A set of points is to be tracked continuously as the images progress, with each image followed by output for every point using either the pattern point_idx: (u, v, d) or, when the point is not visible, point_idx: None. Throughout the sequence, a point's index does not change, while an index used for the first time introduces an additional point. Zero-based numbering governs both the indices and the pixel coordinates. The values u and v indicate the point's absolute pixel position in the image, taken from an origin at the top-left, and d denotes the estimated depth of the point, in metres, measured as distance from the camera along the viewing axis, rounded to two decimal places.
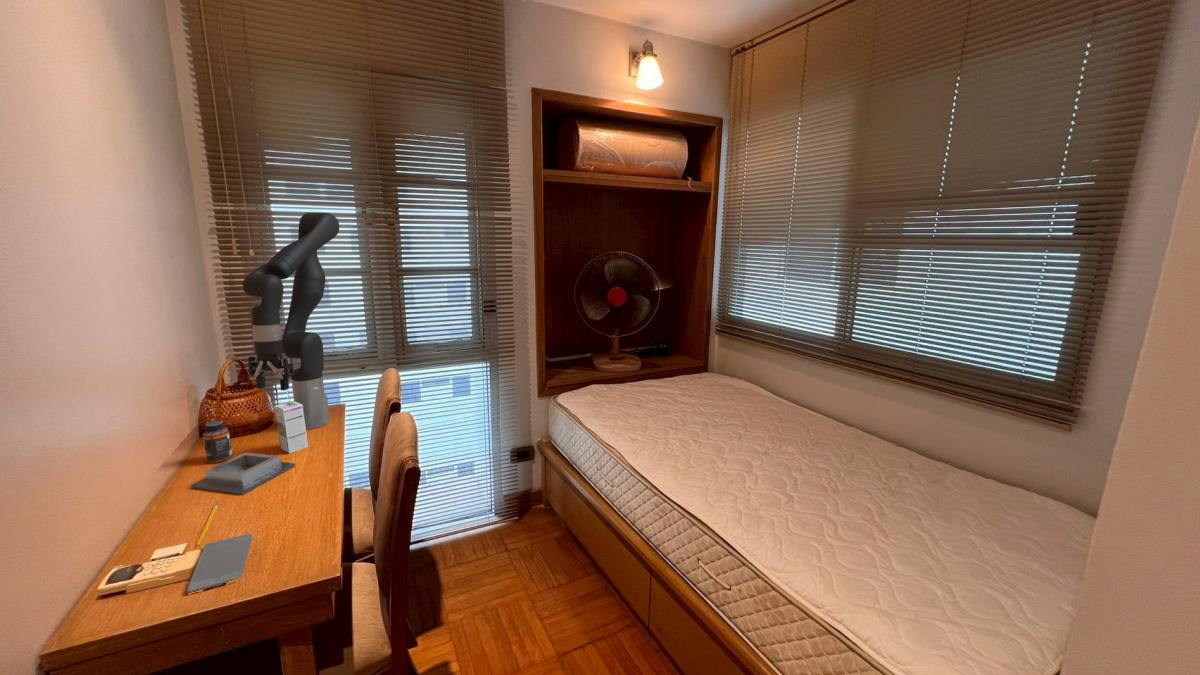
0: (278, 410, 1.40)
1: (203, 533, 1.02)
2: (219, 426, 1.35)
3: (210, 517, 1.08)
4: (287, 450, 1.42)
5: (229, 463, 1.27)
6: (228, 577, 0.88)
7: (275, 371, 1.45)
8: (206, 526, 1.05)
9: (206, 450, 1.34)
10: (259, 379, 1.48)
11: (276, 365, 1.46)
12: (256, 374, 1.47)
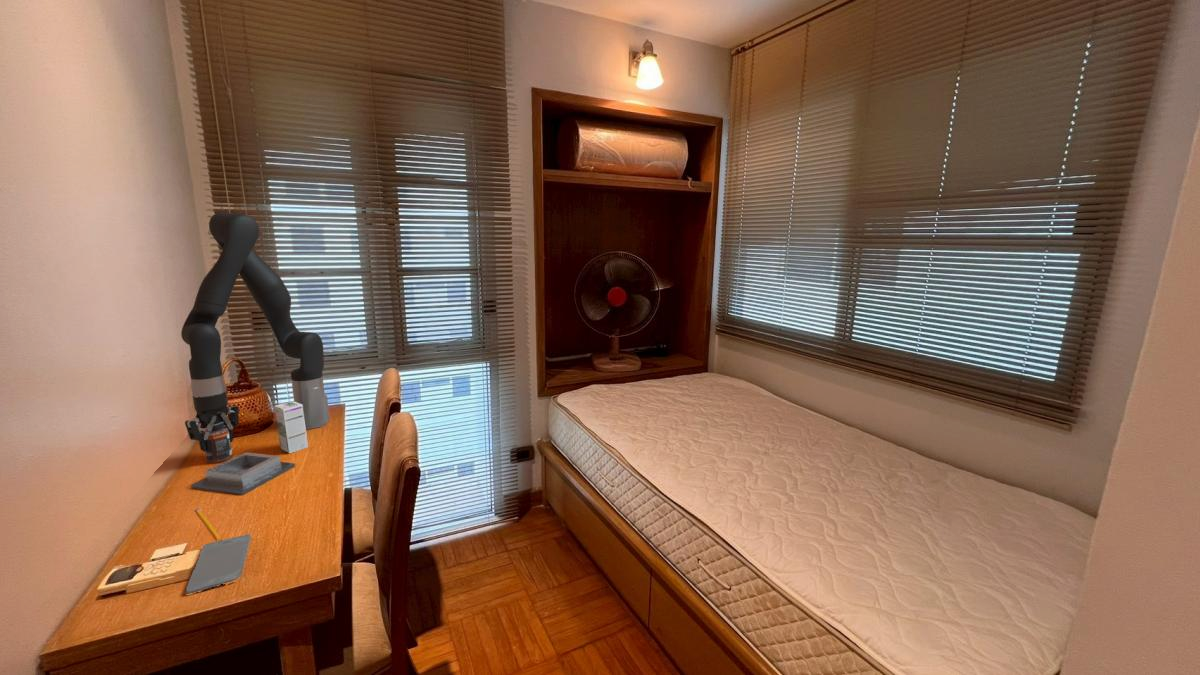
0: (278, 410, 1.40)
1: (213, 530, 1.03)
2: (218, 426, 1.35)
3: (205, 518, 1.08)
4: (287, 450, 1.42)
5: (229, 463, 1.27)
6: (226, 577, 0.88)
7: (228, 422, 1.38)
8: (209, 525, 1.05)
9: None
10: None
11: None
12: (207, 436, 1.33)
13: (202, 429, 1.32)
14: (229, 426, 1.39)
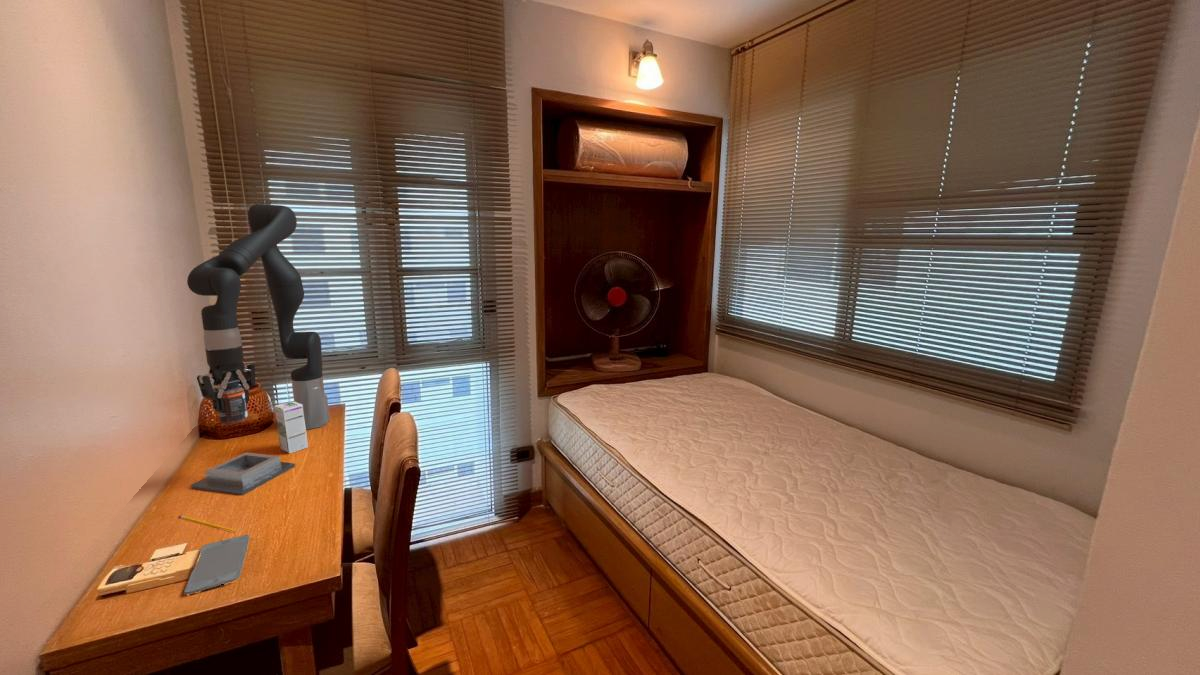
0: (278, 410, 1.40)
1: (221, 526, 1.05)
2: (233, 384, 1.22)
3: (200, 520, 1.07)
4: (287, 450, 1.42)
5: (229, 463, 1.27)
6: (225, 578, 0.88)
7: (244, 381, 1.25)
8: (212, 524, 1.06)
9: None
10: None
11: None
12: (221, 394, 1.20)
13: (215, 386, 1.20)
14: (245, 385, 1.26)
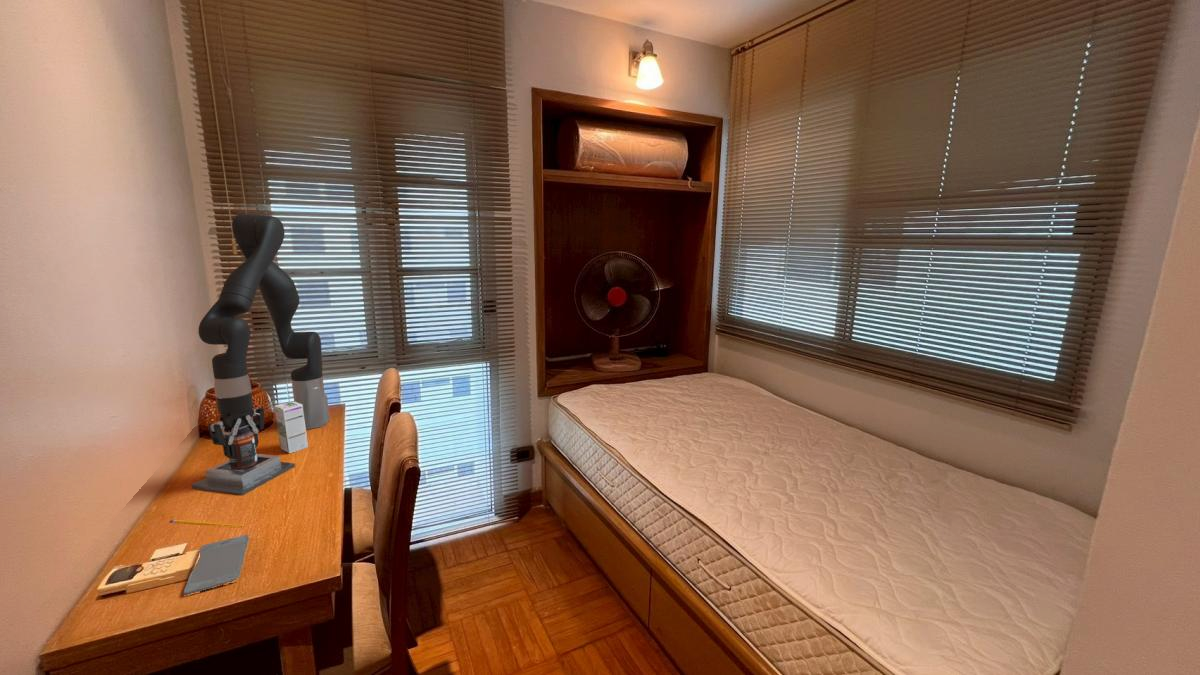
0: (278, 410, 1.40)
1: (226, 524, 1.06)
2: (243, 429, 1.24)
3: (197, 522, 1.06)
4: (287, 450, 1.42)
5: (229, 463, 1.27)
6: (225, 578, 0.88)
7: (253, 425, 1.27)
8: (214, 523, 1.06)
9: None
10: None
11: None
12: (231, 440, 1.22)
13: (226, 433, 1.22)
14: (254, 430, 1.28)
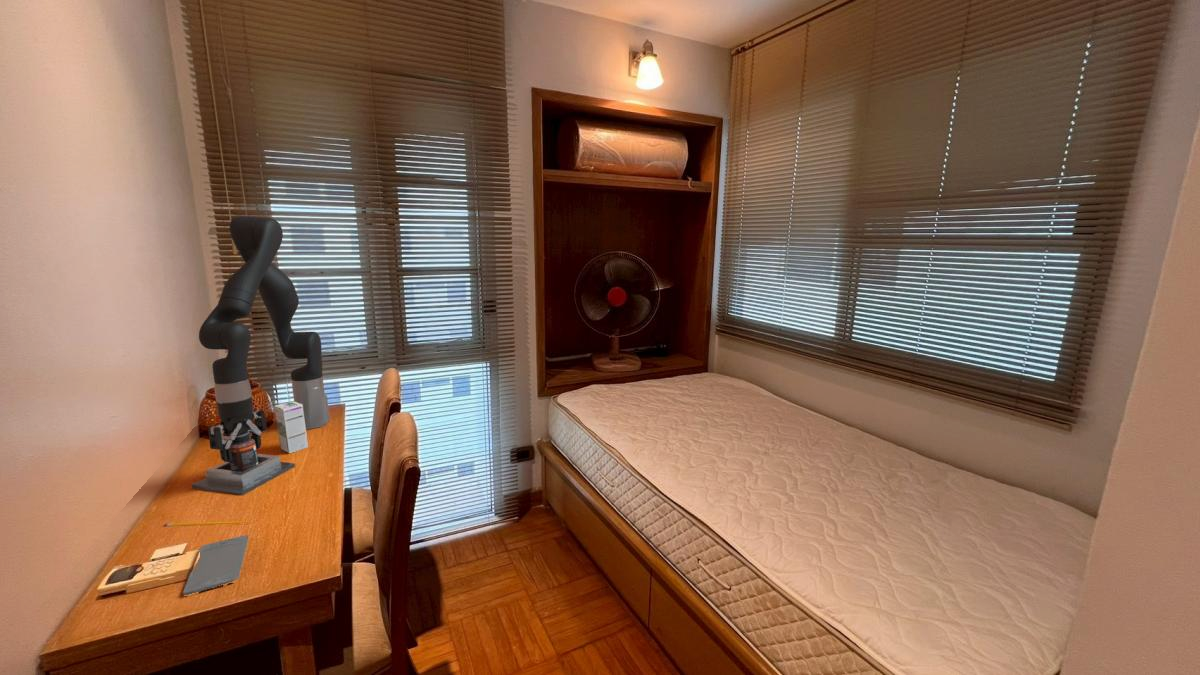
0: (278, 410, 1.40)
1: (228, 522, 1.06)
2: (245, 437, 1.25)
3: (196, 523, 1.06)
4: (287, 450, 1.42)
5: (229, 463, 1.27)
6: (224, 578, 0.88)
7: (255, 428, 1.28)
8: (214, 522, 1.06)
9: (231, 463, 1.24)
10: None
11: (251, 422, 1.28)
12: (228, 444, 1.21)
13: (225, 437, 1.22)
14: (257, 432, 1.29)
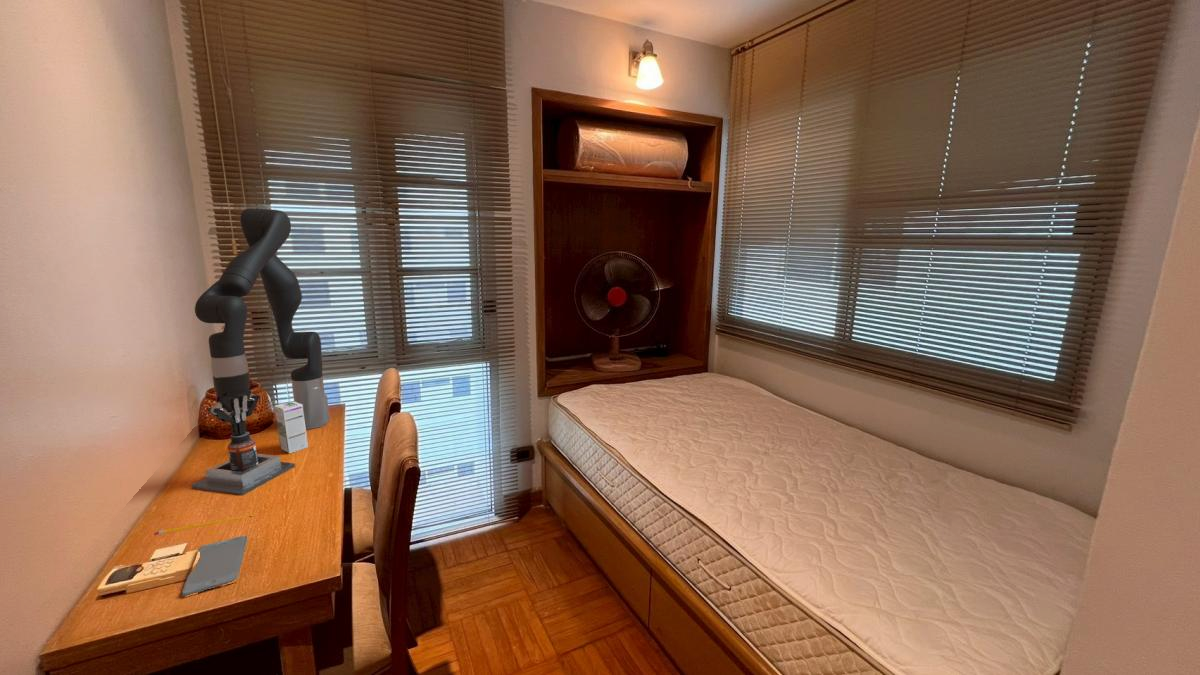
0: (278, 410, 1.40)
1: (231, 518, 1.08)
2: (245, 437, 1.25)
3: (193, 525, 1.05)
4: (287, 450, 1.42)
5: (229, 463, 1.27)
6: (223, 579, 0.88)
7: (245, 409, 1.25)
8: (216, 521, 1.07)
9: (231, 463, 1.24)
10: None
11: None
12: (239, 418, 1.24)
13: (230, 413, 1.23)
14: (243, 415, 1.25)
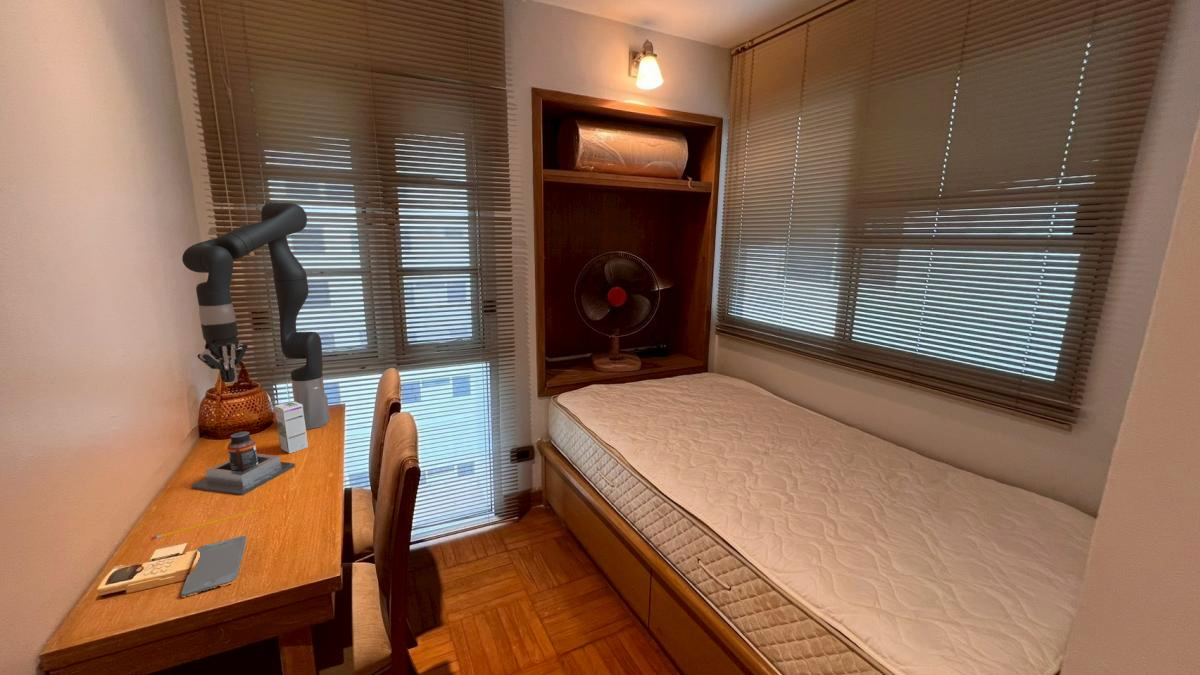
0: (278, 410, 1.40)
1: (232, 516, 1.09)
2: (245, 437, 1.25)
3: (193, 526, 1.05)
4: (287, 450, 1.42)
5: (229, 463, 1.27)
6: (223, 579, 0.88)
7: (233, 357, 1.30)
8: (216, 520, 1.07)
9: (231, 463, 1.24)
10: None
11: None
12: (228, 365, 1.29)
13: (218, 360, 1.28)
14: (231, 363, 1.30)
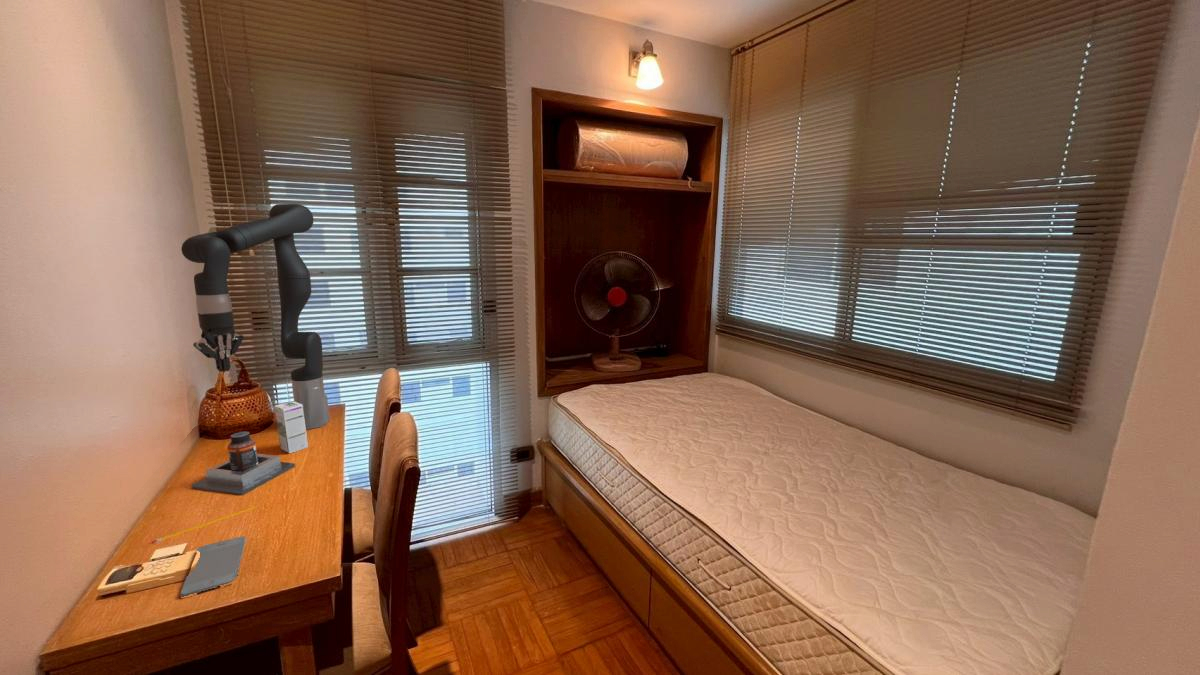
0: (278, 410, 1.40)
1: (231, 514, 1.09)
2: (245, 437, 1.25)
3: (193, 527, 1.04)
4: (287, 450, 1.42)
5: (229, 463, 1.27)
6: (222, 579, 0.88)
7: (229, 347, 1.32)
8: (215, 520, 1.07)
9: (231, 463, 1.24)
10: None
11: None
12: (223, 355, 1.31)
13: (214, 349, 1.30)
14: (227, 352, 1.32)
